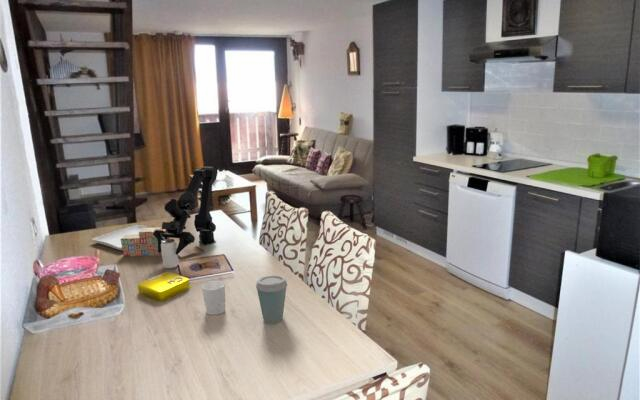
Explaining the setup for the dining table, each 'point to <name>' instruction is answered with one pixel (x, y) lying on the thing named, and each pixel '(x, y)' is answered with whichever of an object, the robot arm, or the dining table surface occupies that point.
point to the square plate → (118, 236)
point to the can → (169, 253)
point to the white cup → (214, 297)
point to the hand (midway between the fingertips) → (167, 253)
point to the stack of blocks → (141, 243)
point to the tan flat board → (190, 252)
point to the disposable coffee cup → (272, 297)
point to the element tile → (163, 286)
